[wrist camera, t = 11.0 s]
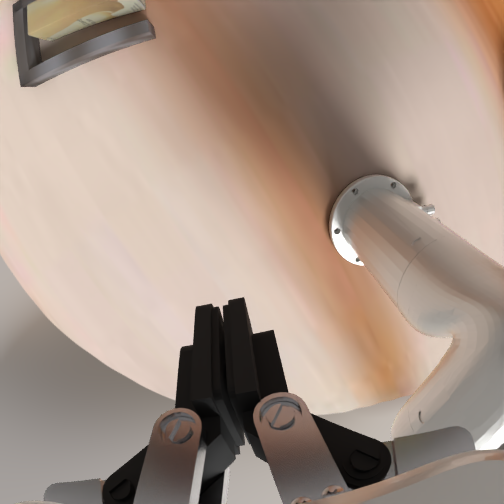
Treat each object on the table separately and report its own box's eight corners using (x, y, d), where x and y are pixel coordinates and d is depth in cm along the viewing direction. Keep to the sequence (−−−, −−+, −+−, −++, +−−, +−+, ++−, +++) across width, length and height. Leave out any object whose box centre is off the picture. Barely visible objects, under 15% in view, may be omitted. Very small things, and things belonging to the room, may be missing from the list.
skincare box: (147, 9, 25) (53, 42, 25) (144, -20, 23) (52, 14, 23) (132, -7, 20) (25, 37, 19) (130, -40, 18) (25, 4, 17)
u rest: (142, -42, 22) (135, -54, 18) (155, 38, 27) (149, 31, 24) (26, 9, 21) (12, 4, 18) (35, 86, 27) (20, 86, 24)
